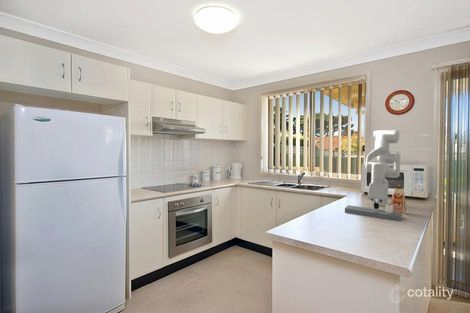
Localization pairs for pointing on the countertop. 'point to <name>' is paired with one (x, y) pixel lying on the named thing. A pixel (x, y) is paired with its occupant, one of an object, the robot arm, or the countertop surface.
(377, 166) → the robot arm
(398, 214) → the bar
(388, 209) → the fader
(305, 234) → the countertop surface
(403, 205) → the milk carton
